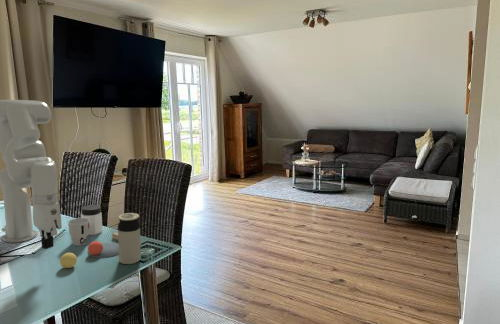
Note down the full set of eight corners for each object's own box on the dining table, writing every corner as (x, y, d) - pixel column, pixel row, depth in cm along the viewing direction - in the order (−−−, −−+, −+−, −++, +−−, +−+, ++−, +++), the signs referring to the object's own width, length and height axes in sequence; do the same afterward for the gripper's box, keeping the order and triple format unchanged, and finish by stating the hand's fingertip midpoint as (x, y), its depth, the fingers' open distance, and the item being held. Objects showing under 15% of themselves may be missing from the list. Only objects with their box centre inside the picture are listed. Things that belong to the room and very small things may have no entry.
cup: (81, 248, 143) (80, 225, 141) (64, 245, 144) (63, 223, 142) (94, 240, 150) (93, 218, 149) (78, 238, 152) (76, 217, 150)
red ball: (94, 236, 138) (101, 244, 142) (82, 246, 136) (90, 254, 139) (100, 241, 135) (107, 250, 138) (88, 252, 132) (96, 260, 136)
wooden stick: (137, 247, 145) (137, 242, 145) (112, 238, 153) (112, 233, 153) (141, 246, 147) (140, 240, 146) (116, 237, 155) (116, 232, 154)
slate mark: (102, 261, 132) (102, 260, 132) (80, 252, 139) (80, 251, 139) (131, 248, 144) (131, 248, 144) (110, 240, 151) (110, 240, 151)
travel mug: (120, 266, 129) (118, 220, 126) (118, 257, 136) (116, 213, 133) (142, 262, 132) (141, 218, 129) (139, 254, 139) (138, 211, 136)
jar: (79, 236, 155) (78, 210, 153) (83, 229, 163) (82, 205, 161) (100, 235, 157) (99, 209, 155) (103, 228, 165) (103, 204, 163)
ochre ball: (74, 247, 128) (76, 259, 131) (57, 252, 126) (60, 264, 128) (76, 256, 124) (79, 268, 126) (59, 261, 121) (62, 273, 124)
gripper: (68, 200, 117) (70, 249, 121) (44, 190, 124) (46, 238, 128) (46, 205, 111) (49, 257, 114) (21, 195, 118) (25, 244, 122)
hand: (47, 247), depth 121 cm, fingers closed
